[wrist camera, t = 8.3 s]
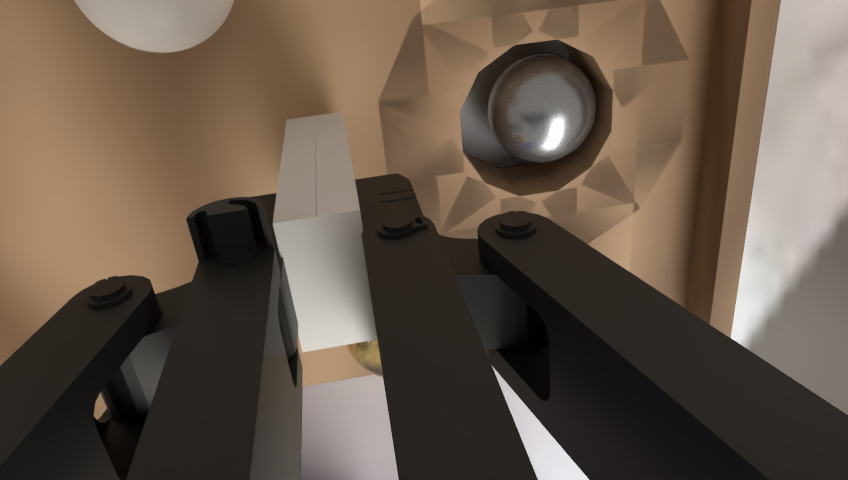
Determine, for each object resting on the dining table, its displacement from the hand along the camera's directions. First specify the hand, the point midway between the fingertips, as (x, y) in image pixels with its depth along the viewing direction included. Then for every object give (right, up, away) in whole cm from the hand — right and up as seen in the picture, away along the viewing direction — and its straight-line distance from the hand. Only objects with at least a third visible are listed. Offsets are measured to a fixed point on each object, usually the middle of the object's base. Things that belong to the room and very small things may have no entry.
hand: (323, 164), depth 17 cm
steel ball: (+6, +2, +2) cm, 7 cm away
